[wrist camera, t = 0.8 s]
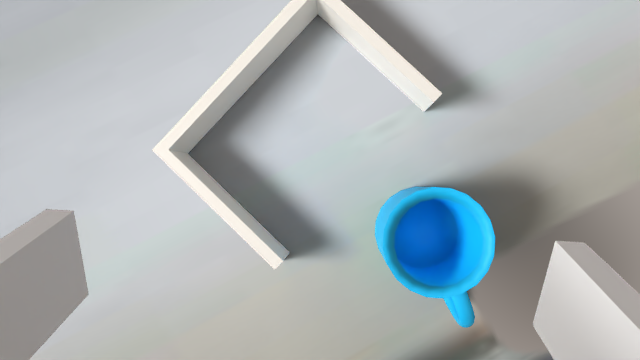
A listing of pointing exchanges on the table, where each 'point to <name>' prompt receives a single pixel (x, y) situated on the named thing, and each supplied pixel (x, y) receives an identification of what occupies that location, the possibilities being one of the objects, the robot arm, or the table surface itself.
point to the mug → (437, 244)
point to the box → (244, 73)
